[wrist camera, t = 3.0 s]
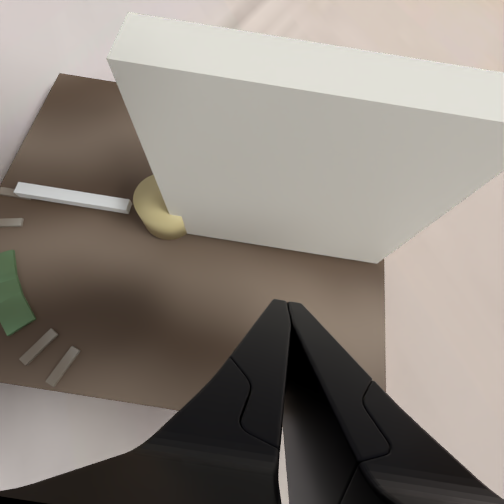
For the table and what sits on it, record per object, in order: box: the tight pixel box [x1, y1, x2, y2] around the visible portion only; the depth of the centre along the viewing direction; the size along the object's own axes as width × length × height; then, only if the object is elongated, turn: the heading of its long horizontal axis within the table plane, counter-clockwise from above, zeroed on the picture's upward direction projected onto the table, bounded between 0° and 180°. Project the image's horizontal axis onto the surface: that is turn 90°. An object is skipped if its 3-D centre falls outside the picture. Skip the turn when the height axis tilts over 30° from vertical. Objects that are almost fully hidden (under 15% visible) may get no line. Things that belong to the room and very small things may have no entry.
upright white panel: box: [14, 12, 504, 264], centre depth 11 cm, size 3×18×9 cm, turn 82°
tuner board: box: [0, 73, 386, 427], centre depth 16 cm, size 17×20×2 cm
